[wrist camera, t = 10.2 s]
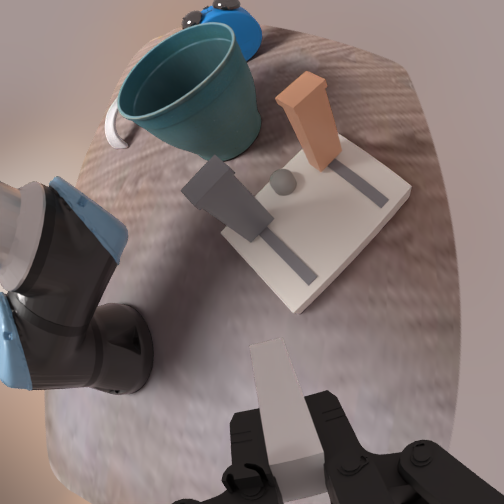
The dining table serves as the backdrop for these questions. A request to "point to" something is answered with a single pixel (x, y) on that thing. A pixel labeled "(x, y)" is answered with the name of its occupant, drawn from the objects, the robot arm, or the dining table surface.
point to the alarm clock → (230, 23)
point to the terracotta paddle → (311, 119)
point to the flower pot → (195, 93)
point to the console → (319, 221)
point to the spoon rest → (113, 128)
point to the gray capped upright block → (227, 199)
